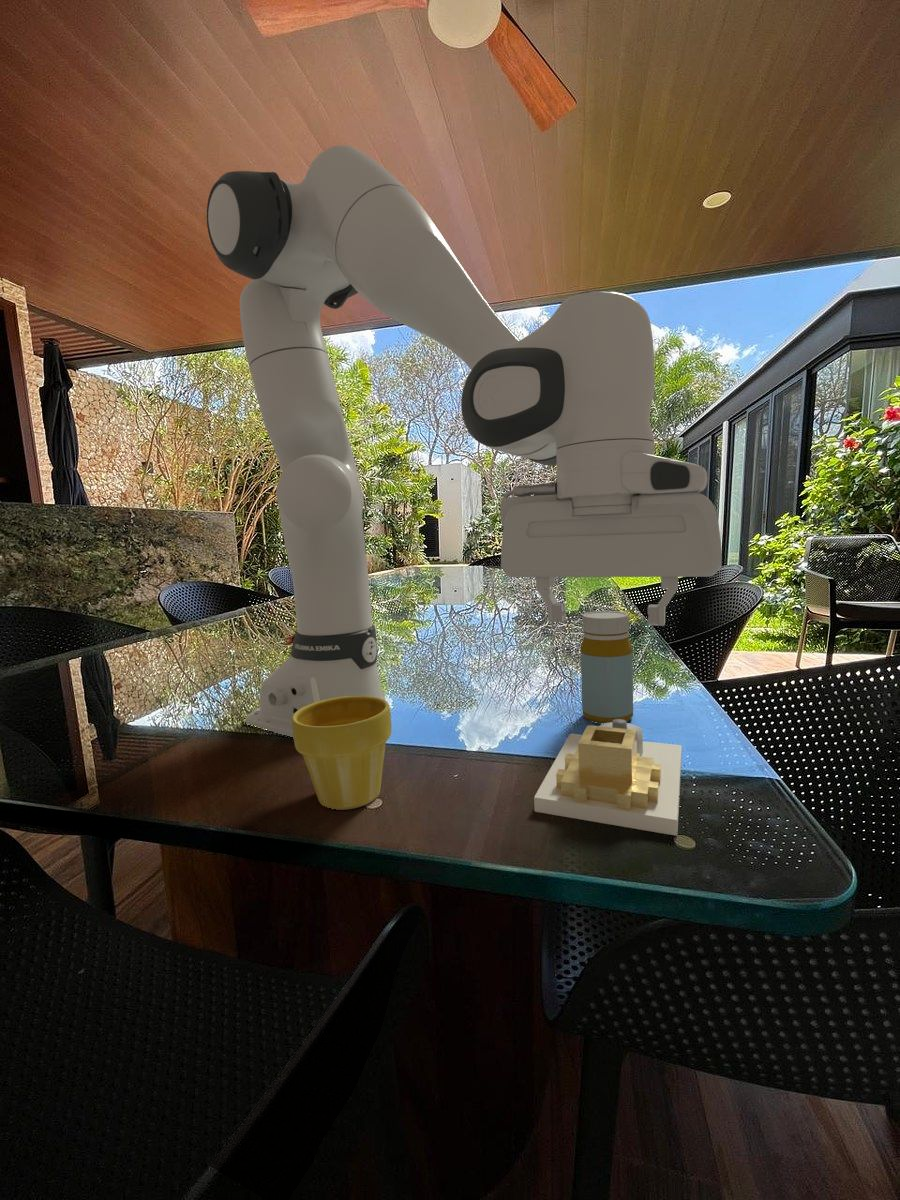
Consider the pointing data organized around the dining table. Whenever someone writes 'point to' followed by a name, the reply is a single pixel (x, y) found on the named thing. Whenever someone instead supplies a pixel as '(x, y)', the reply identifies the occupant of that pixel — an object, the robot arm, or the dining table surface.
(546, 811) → the carrier plate
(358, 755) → the plant pot
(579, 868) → the dining table surface
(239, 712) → the dining table surface
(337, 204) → the robot arm
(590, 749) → the gear
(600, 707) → the bottle
